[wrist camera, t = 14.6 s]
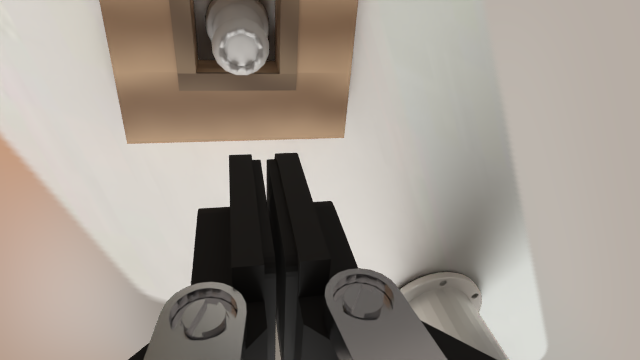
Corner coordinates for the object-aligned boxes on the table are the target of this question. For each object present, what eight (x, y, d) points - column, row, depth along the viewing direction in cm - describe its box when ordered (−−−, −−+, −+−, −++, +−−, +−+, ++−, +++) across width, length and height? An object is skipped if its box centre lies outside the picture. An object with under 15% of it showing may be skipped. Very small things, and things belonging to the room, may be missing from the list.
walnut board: (335, 122, 35) (344, 139, 33) (134, 126, 32) (126, 145, 29) (355, -105, 27) (370, -108, 24) (88, -130, 24) (71, -136, 21)
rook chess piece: (226, -26, 28) (227, -10, 21) (280, 15, 30) (297, 41, 23) (193, 30, 29) (184, 62, 23) (247, 66, 31) (253, 104, 25)
